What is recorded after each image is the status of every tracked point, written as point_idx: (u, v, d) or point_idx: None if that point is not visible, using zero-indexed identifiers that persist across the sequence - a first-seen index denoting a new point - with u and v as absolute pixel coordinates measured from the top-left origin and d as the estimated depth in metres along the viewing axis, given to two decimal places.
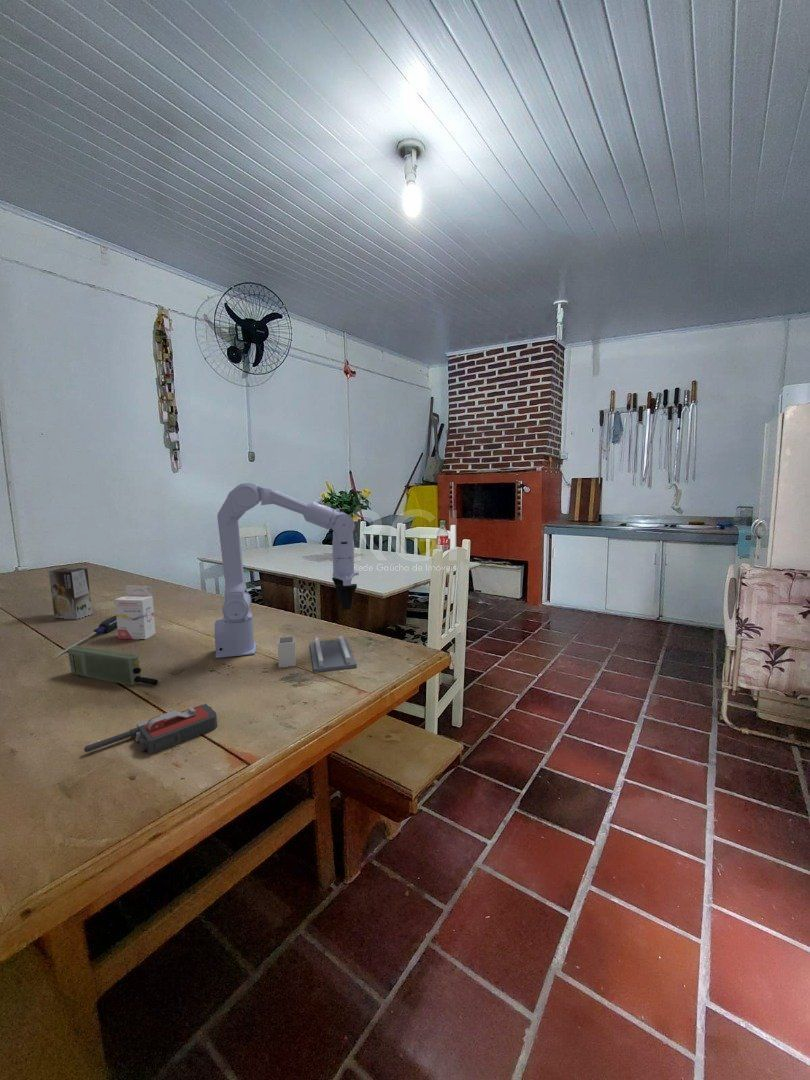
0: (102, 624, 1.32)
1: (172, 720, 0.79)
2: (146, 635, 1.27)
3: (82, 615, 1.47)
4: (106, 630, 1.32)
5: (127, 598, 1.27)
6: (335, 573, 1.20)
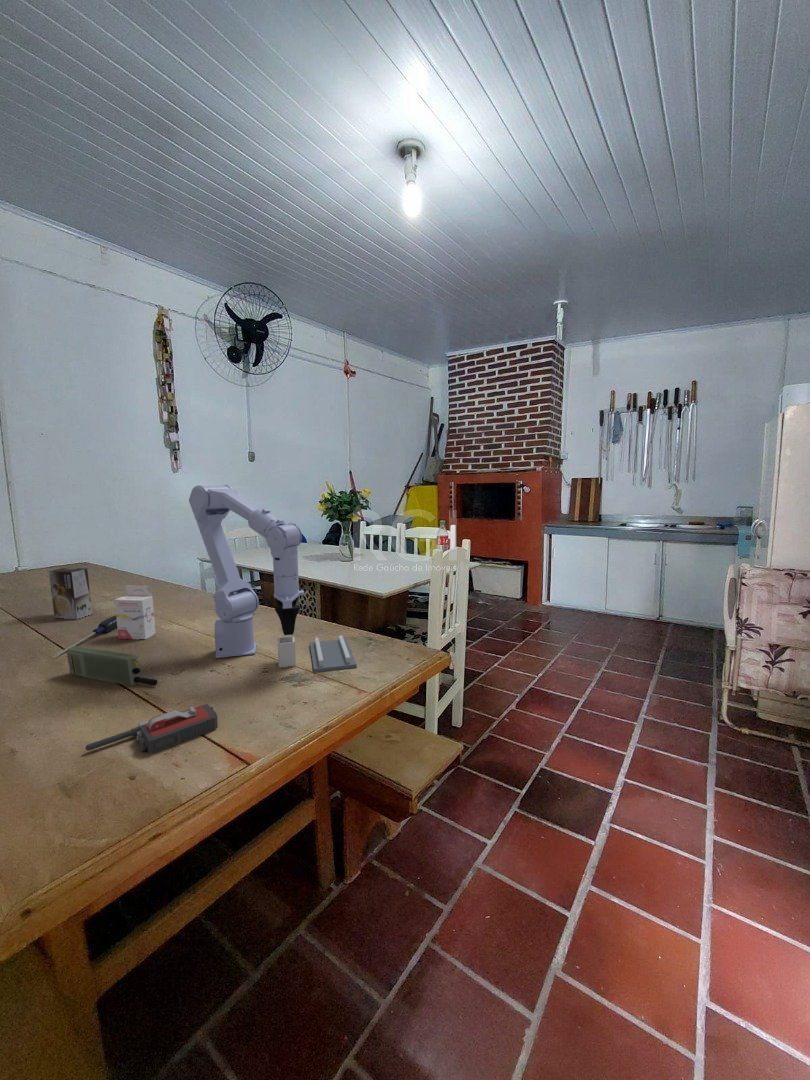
0: (101, 624, 1.32)
1: (173, 719, 0.79)
2: (146, 635, 1.27)
3: (82, 615, 1.47)
4: (105, 630, 1.32)
5: (127, 598, 1.27)
6: (276, 593, 1.05)
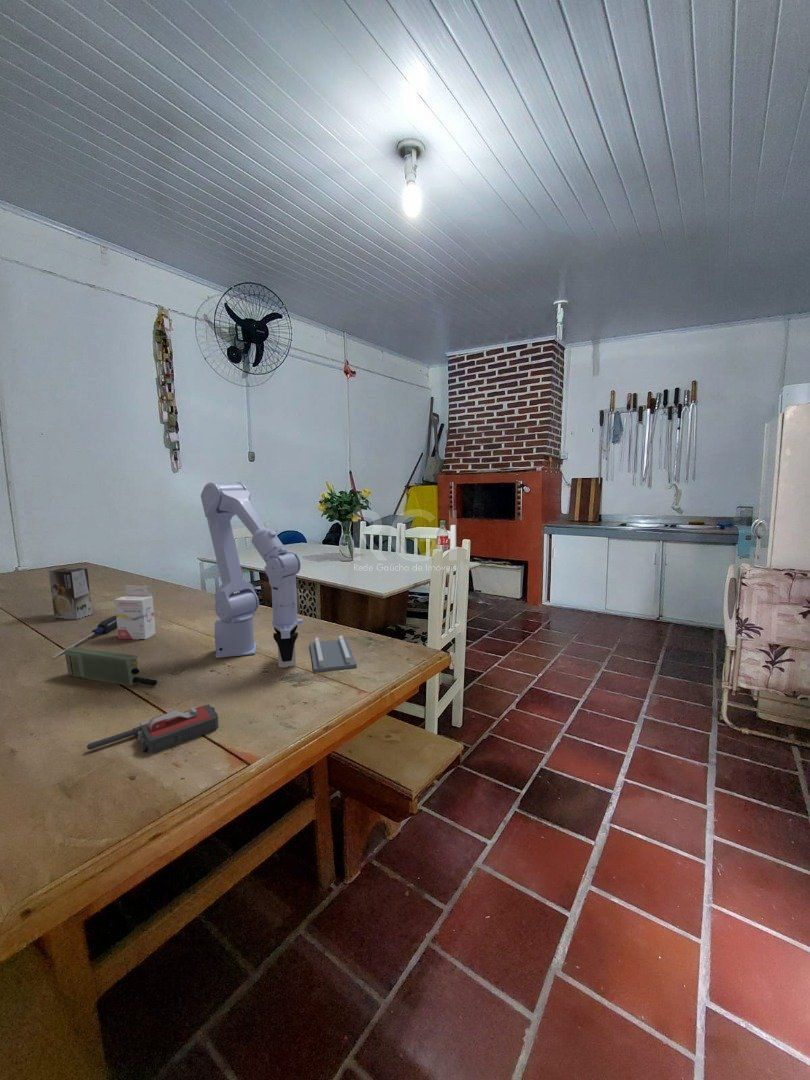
0: (100, 625, 1.31)
1: (174, 720, 0.79)
2: (146, 635, 1.27)
3: (82, 615, 1.47)
4: (104, 631, 1.31)
5: (127, 598, 1.27)
6: (274, 622, 1.06)
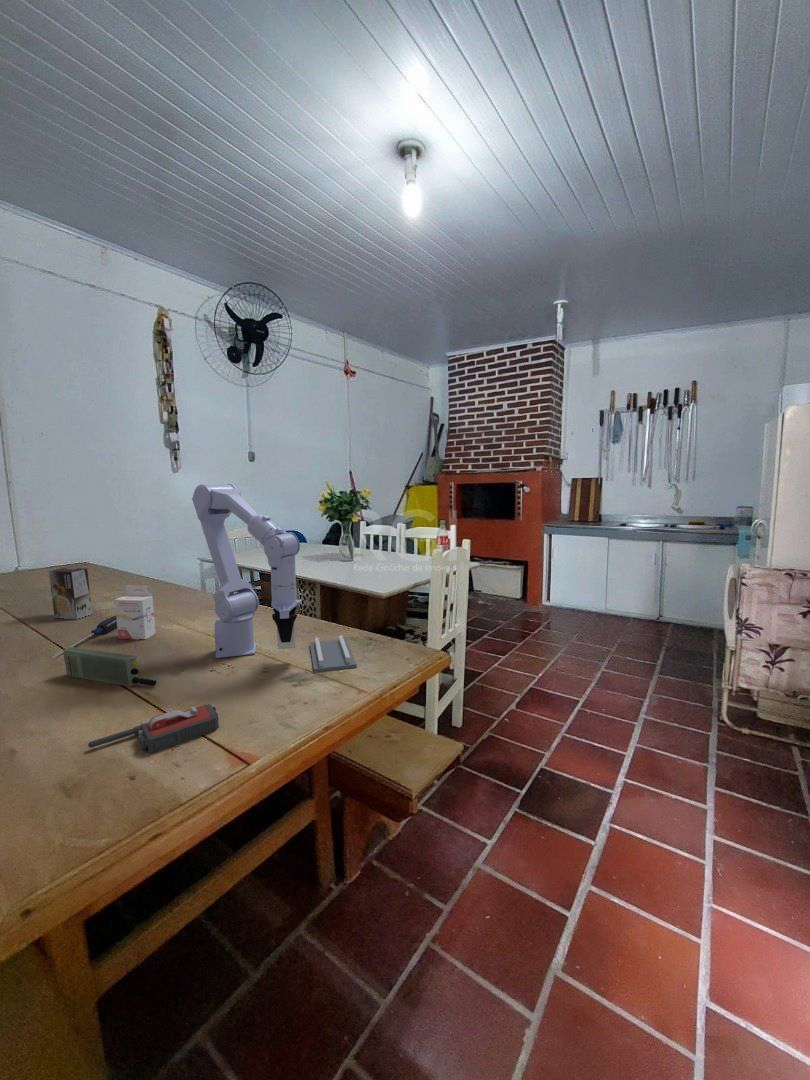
0: (100, 625, 1.31)
1: (174, 719, 0.79)
2: (146, 635, 1.27)
3: (82, 615, 1.47)
4: (104, 631, 1.31)
5: (127, 598, 1.27)
6: (273, 602, 1.05)
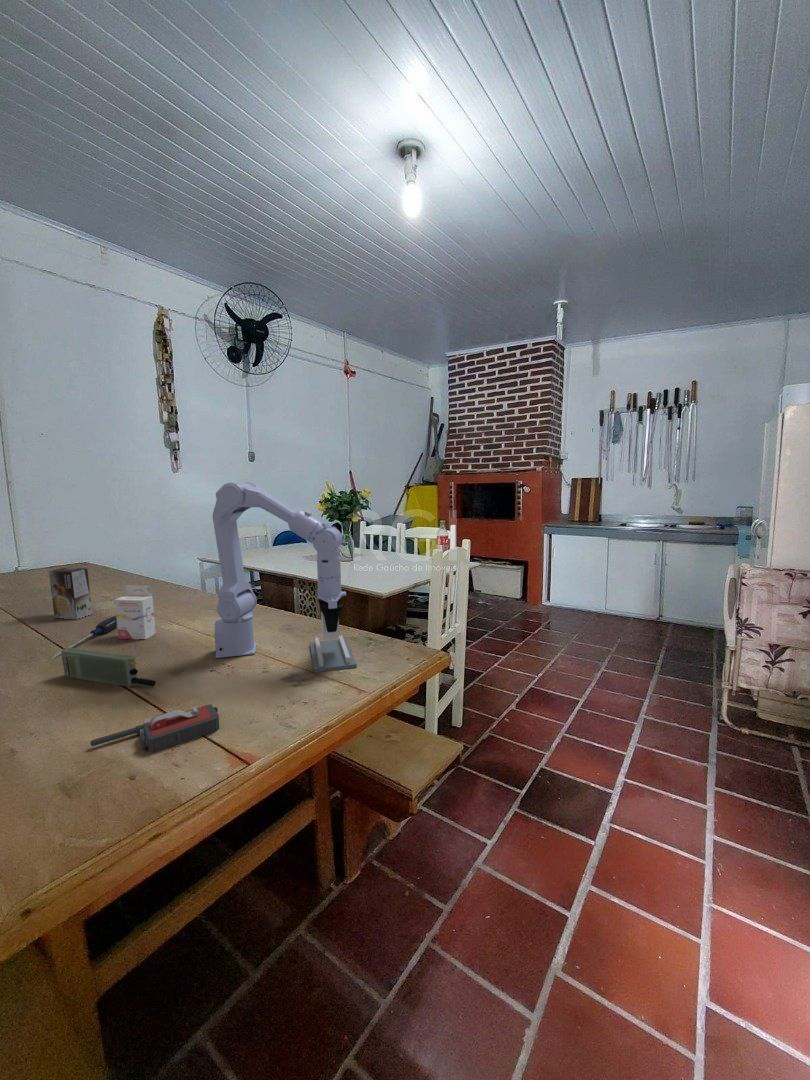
0: (99, 625, 1.31)
1: (175, 719, 0.79)
2: (146, 635, 1.27)
3: (82, 615, 1.47)
4: (103, 631, 1.31)
5: (127, 598, 1.27)
6: (320, 594, 1.10)
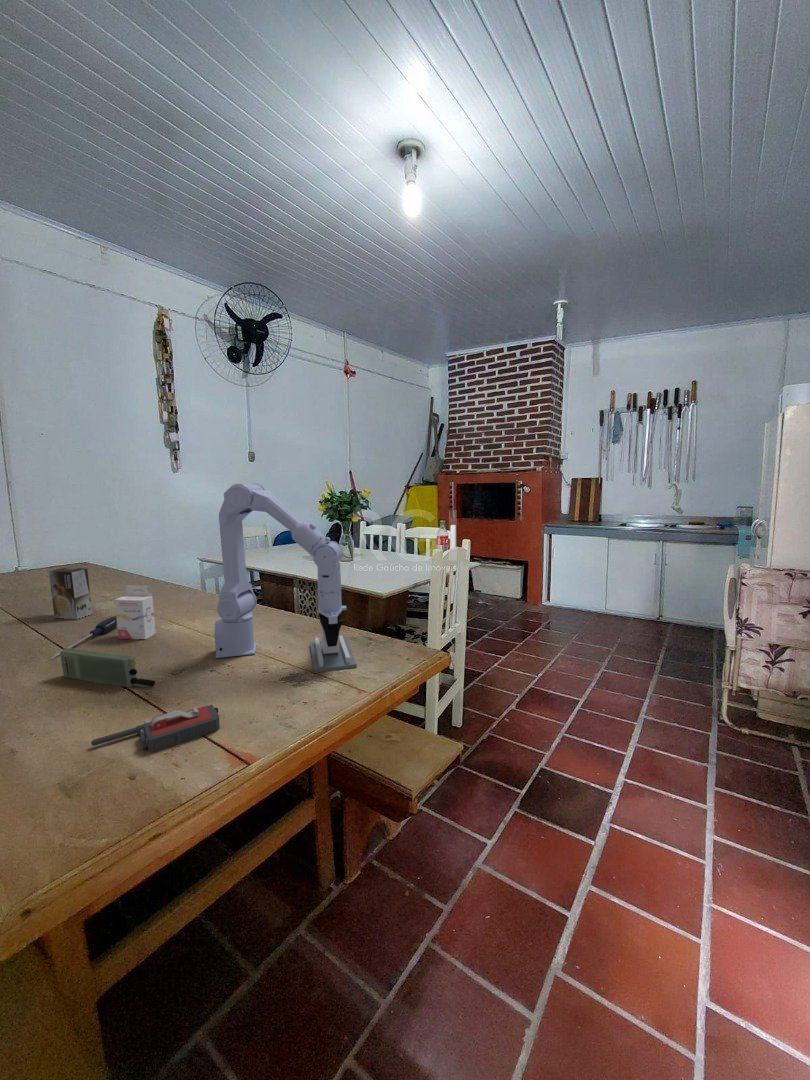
0: (98, 626, 1.30)
1: (176, 719, 0.79)
2: (146, 635, 1.27)
3: (82, 615, 1.47)
4: (102, 632, 1.31)
5: (127, 598, 1.27)
6: (320, 609, 1.10)
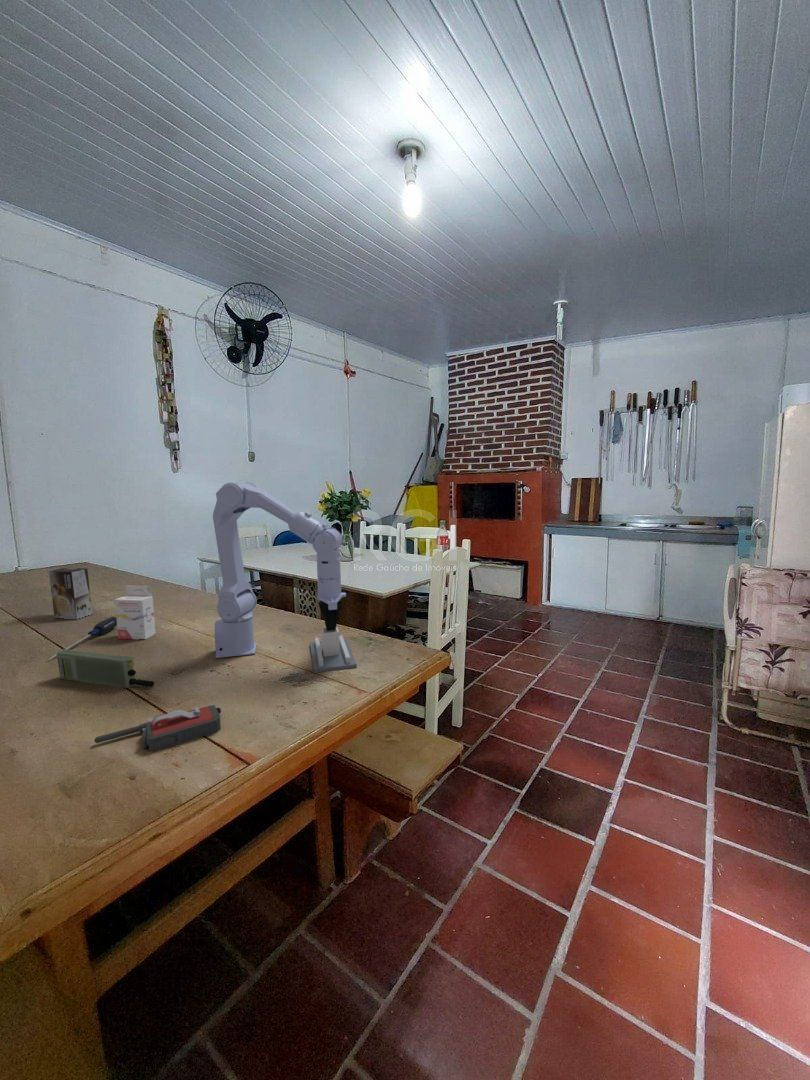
0: (97, 626, 1.30)
1: (177, 719, 0.79)
2: (146, 635, 1.27)
3: (82, 615, 1.47)
4: (101, 632, 1.30)
5: (127, 598, 1.27)
6: (320, 595, 1.10)
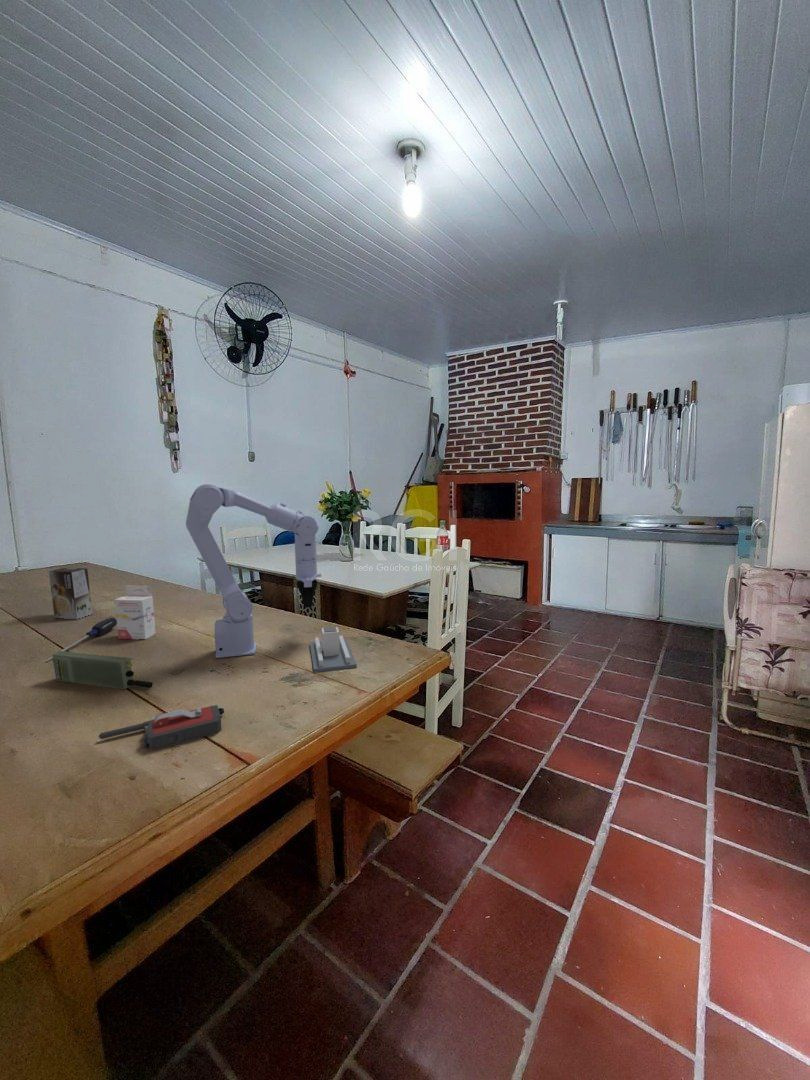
0: (95, 627, 1.29)
1: (179, 718, 0.79)
2: (146, 635, 1.27)
3: (82, 615, 1.47)
4: (99, 633, 1.29)
5: (127, 598, 1.27)
6: (297, 575, 1.22)
